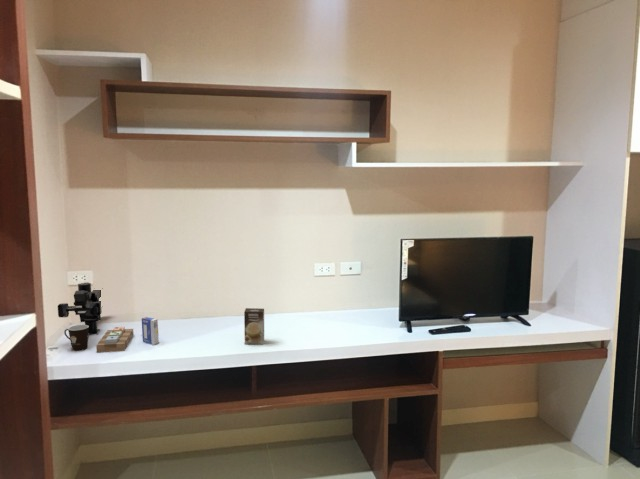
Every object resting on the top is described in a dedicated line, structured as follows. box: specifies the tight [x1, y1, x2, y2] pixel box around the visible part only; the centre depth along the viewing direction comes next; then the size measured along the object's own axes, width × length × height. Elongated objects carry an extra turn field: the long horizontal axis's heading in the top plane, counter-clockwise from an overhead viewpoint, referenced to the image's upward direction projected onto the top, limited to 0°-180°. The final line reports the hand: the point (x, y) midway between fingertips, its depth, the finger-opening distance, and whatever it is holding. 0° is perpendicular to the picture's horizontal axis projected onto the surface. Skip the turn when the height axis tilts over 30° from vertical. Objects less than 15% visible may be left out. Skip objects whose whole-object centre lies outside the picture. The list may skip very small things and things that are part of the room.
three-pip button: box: [109, 331, 122, 338], centre depth 244 cm, size 5×5×3 cm
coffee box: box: [243, 307, 265, 346], centre depth 245 cm, size 9×6×16 cm
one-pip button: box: [105, 336, 119, 344], centre depth 238 cm, size 5×5×3 cm
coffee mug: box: [64, 324, 89, 352], centre depth 239 cm, size 12×9×10 cm
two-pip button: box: [111, 326, 126, 333], centre depth 251 cm, size 5×5×3 cm
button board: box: [95, 328, 135, 353], centre depth 245 cm, size 22×12×4 cm, turn 10°
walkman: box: [141, 316, 160, 345], centre depth 246 cm, size 8×3×12 cm, turn 61°
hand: (74, 314), depth 235 cm, fingers open, 9 cm apart
